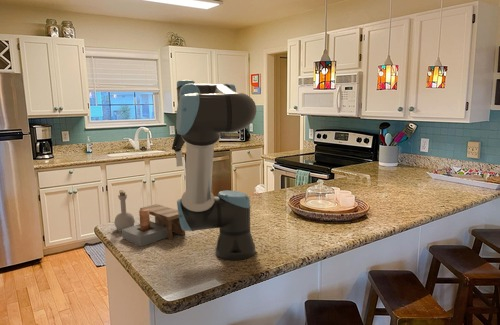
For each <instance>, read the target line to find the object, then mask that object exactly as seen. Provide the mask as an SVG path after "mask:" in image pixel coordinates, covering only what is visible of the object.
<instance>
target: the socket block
mask: <svg viewBox="0 0 500 325" xmlns="http://www.w3.org/2000/svg"><path fill="white" fill-rule="evenodd" d="M121 236H122V237H121V238H124V239H123V240H125V239H126V240H125V241H127V240H128V241H127V242H129V241H130V243H131V242H132V243H131V244H134V245H137V246H138V247H144V246H147V245H151V244H153V243H155V242H158V240H159V241H161V239H162V240H164V239H167V227H166V226H163V225H160V224H157V223H155V221H152V220H150V230H148V231H145V232H143V231H141V230H140V223H139V224H134V226H132V227H129V228H125V229H122V232H121Z"/></svg>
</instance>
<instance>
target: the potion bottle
mask: <svg viewBox="0 0 500 325" xmlns="http://www.w3.org/2000/svg"><path fill="white" fill-rule="evenodd" d="M127 198H128V194H126V191H125V190H124V189H121V190H119V193H118V200H119V202H120V213H118V214H116V215H115V218H114V225H115V228H116V230H117V229H118V230H117V231H118V232H121V231H122V229H125V228H129V227H132V226H135V221H136V219H135V217H134V215H133V214H132V213H131V212H129V211H128V212H127V204H126V200H127Z"/></svg>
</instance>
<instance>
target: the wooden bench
mask: <svg viewBox="0 0 500 325" xmlns="http://www.w3.org/2000/svg"><path fill="white" fill-rule="evenodd" d="M142 209H149V216H150V215H151V216H154V223H157V224H160V225H163V226H166V227H167V238H166V239H167V240H169V241H171V240H173V238H174V236H173V233H175V234H178V235H181V236H185V235H186V231H184V230H182V228H181V225H180V220H179V214H178V209H176V208H170V207H168V206H164V205H161V204H158V203H154V204H151V205H147V206H143V207H140V209H139V210H142Z"/></svg>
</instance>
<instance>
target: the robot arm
mask: <svg viewBox="0 0 500 325" xmlns="http://www.w3.org/2000/svg"><path fill="white" fill-rule="evenodd" d="M176 94H177V96H176V99H177V107H176V120H175V125H176V126H175V127H176V129H175V136H174V139H173V142H172V146H171V150H172V151H174V152H175V160H176V167H183V150H182V149H183V146H184V144H185V148H186V149H185V191H184V192H183V193H182V195H181V198H180V199H177V200H176V206H177V210H178V214H179V220H180V225H181V228H182V230H184V231H185V232H195V231H202V230H203V231H205V230H211V229H212V230H213V229H219V234H218V238H217V242H216V245H215V246H214V247H215V249H214V250H215V254H216V256H217V257H218V258H220V259H223V260H228V261H239V260H240V261H241V260H246V259H249V258H251V257H252V256H254V255H255V254H256V245H255V242H254V239H253V236H252V233H251V232H252V231H251V202H250V196H249V195H248V194H247V193H245V192H241V191H237V190H221V191H219V192H218V193H217V195H214V194H213V192H212V184H213V183H212V181H213V168H214V166H213V165H214V155H215V154H214V152H215V151H214V150H215V144H216V143H217V142H219V140H220V138H221V134H227V133H228V134H229V133H230V134H231V133H236V132H239V131H242V130H244V129H246V128H247V127H249V126H250V125H251V124H252V122H253V121H254V120H255V118H256V116H257V105H256V102H255V101H254V99H253V98H252V97H251V96H250V95H248V94H246V93H244V92H237V88H236V86H235V84H232V83H195V81H194V80H193V79H192V80H191V79H183V80H182V79H181V80H177V82H176Z"/></svg>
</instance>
